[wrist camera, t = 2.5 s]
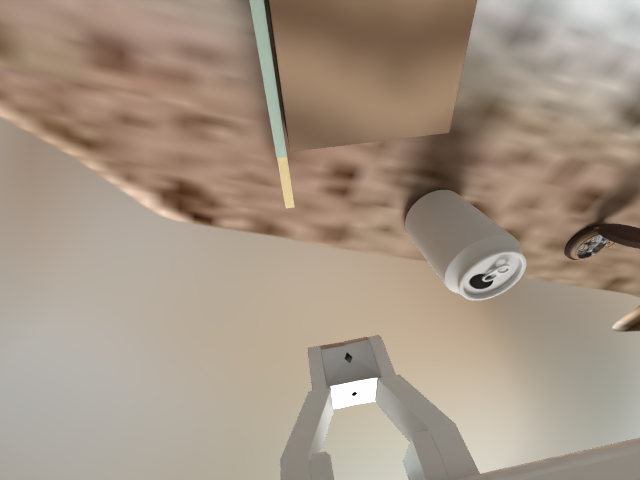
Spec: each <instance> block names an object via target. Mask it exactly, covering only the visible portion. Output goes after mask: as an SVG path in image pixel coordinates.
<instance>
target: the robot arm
mask: <svg viewBox="0 0 640 480" xmlns="http://www.w3.org/2000/svg"><path fill="white" fill-rule="evenodd" d="M308 358H309V366H310V374H311V383H312V391H310V392H308V395H307V397H306V399H305V402H304V404H303V407H302V409H301V411H300V414H299V416H298V419H297V421H296V423H295V426H294V428H293V431H292V433H291V436H290V438H289V440H288V442H287V445H286V447H285V450H284V452H283V455H282V457H281V459H280V465H281V466H280V467H281V480H334V476H333V470H332V463H331V457H330V455H329V454H328V453H326V452H321V451H322V448H323V445H324V441H325V438H326V435H327V431H328V428H329V425H330V421H331V418H332V415H333V411H334V409H337V408H341V407H345V406H349V405H354V404H360V403H365V402H372V401H375V403H376V404H377V405H378V406H379V407H380V408H381V409H382V411H383V412H384V413H385V414H386V415H387V416H388V418H389V419H390V420H391V421H392V422H393V423H394V425H395V426H396V427H397V428H398V429H399V430H400V431H401V432H402V434H403V435H404V436H405V437H406V438H407V440H408V441H409V442H410V444H409V447H408V449H407V452H406V454H405V457H404V460H403V463H404V466H405V469H406V473H407V476H408V479H409V480H640V438H637V439H632V440H627V441H623V442H618V443H614V444H610V445H605V446H601V447H596V448H592V449H588V450H583V451H579V452H574V453H570V454H565V455H561V456H557V457H552V458H548V459H543V460H539V461H534V462H530V463H526V464H521V465H517V466H512V467H508V468H503V469H499V470H495V471H490V472H486V473H482V474H480V473H479V471H478V469H477V467H476V465H475V463H474V461H473V459H472V457H471V455H470V453H469V451H468V449H467V447H466V445H465V443H464V441H463V439H462V436H461V434H460V432H459V430H458V428H457V426H456V424H455V423H454V422H452V420H450V419H449V418H448V417H447V416H446V415H445V414H444V413H443V412H441V411H440V410H439V409H438V408H437V407H436V406H435V405H434V404H432V403H431V402H430V401H429V400H428V399H427V398H426V397H424V396H423V395H422V394H421V393H420V392H419V391H418V390H416V389H415V388H414V387H413V386H412V385H411V384H410V383H409V382H407V381H406V380H405V379H404V378H403V377H402V376H401V375H396V374H395V372H394V369H393V366H392V364H391V361H390V359H389V356H388V353H387V351H386V348H385V346H384V343H383V341H382V338H381V337H380V336H379V335H376V336H371V337H364V338H359V339H354V340H350V341H344V342H339V343H334V344H328V345H322V346H316V347H310V348H308Z"/></svg>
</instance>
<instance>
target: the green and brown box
mask: <svg viewBox="0 0 640 480" xmlns="http://www.w3.org/2000/svg"><path fill="white" fill-rule="evenodd" d="M476 3H477V0H268V4H269V11H270V18H271V25H272V32H273V39H274V46H275V53H276V60H277V67H278V74H279V81H280V89H281V96H282V103H283V110H284V117H285V124H286V131H287V136H288V142H289V148H290V152H293V151H301V150H310V149H318V148H326V147H335V146H343V145H351V144H360V143H368V142H377V141H385V140H393V139H402V138H410V137H418V136H427V135H435V134H444V133H449V131H450V126H451V121H452V117H453V112H454V107H455V102H456V98H457V93H458V88H459V84H460V79H461V74H462V69H463V65H464V60H465V55H466V50H467V46H468V41H469V36H470V31H471V27H472V22H473V17H474V12H475V8H476Z"/></svg>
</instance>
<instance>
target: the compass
mask: <svg viewBox="0 0 640 480" xmlns="http://www.w3.org/2000/svg"><path fill="white" fill-rule="evenodd" d="M609 241H613V242H614V243H613V244H612V245H611V246H613V245H614V244H615V243H619V244H621V245H625V246H629V247H634V248H639V249H640V228H637V227H632V226H628V225H622V224H603V225H601V226H596V227H591V228H588V229H586V230H584V231H582V232H580V233H579V234H577V235H576V236H575V237H574V238H573V239H572V240H571V241H570V242H569V243H568V245H567V246H566V249H565V255H566V256H567V257H568V258H570V259H572V260H580V259H586V258H589V257H591V256H594V255H595V254H597V253H598V252H600V251H601V250H602V249H603V248H604V247H605V248H608V247H606V245H610V242H609ZM611 246H609V247H611Z"/></svg>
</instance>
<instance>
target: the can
mask: <svg viewBox="0 0 640 480" xmlns="http://www.w3.org/2000/svg"><path fill="white" fill-rule="evenodd" d="M405 230H406V232H407V233H408V235H409V237H410V238H411V239H412V241H413V242H414V243H415V245H416V246H417V247H418V249H419V250H420V251H421V253H422V254H423V256H424V257H425V258H426V260H427V261H428V262H429V264H430V265H431V266H432V267H433V269H434V270H435V272H436V273H437V274H438V276H439V277H440V278H441V280H442V281H443V282H444V284H445V285H446V286H447V288H448V289H450V290H451V291H453V292H455V293H460V294H461V295H462V296H463V297H465V298H466V299H469V300H475V301H476V300H485V299H489V298H492V297H494V296H497V295H499V294H501V293H503V292H505V291H506V290H508V289H509V288H510V287H512V286H513V285H514V284H515V283H516V282H517V281H518V280H519V279H520V278H521V276H522V275H523V273H524V271H525V268H526V265H527V262H526V257H525V256H524V255H523V254H522V253H521V246H520V243H519V242H518V241H517V240H516V239H515V238H514V237H513V236H512V235H510V234H509V233H508V232H507V231H505V230H504V229H503V228H501V227H500V226H499V225H497V224H496V223H495V222H493V221H492V220H491V219H490V218H488V217H487V216H486V215H484V214H483V213H482V212H480V211H479V210H478V209H476V208H475V207H474V206H473V205H471V204H470V203H469V202H467V201H466V200H465V199H463V198H462V197H461V196H459V195H458V194H457V193H455V192H453V191H450V190H437V191H434V192H431V193H428V194H427V195H425V196H423V197H421V198H420V199H419V200H418V201H417V202H416V203H415V204H414V205H413V206H412V207H411V209H410V210H409V212H408V213H407V216H406V220H405Z"/></svg>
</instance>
